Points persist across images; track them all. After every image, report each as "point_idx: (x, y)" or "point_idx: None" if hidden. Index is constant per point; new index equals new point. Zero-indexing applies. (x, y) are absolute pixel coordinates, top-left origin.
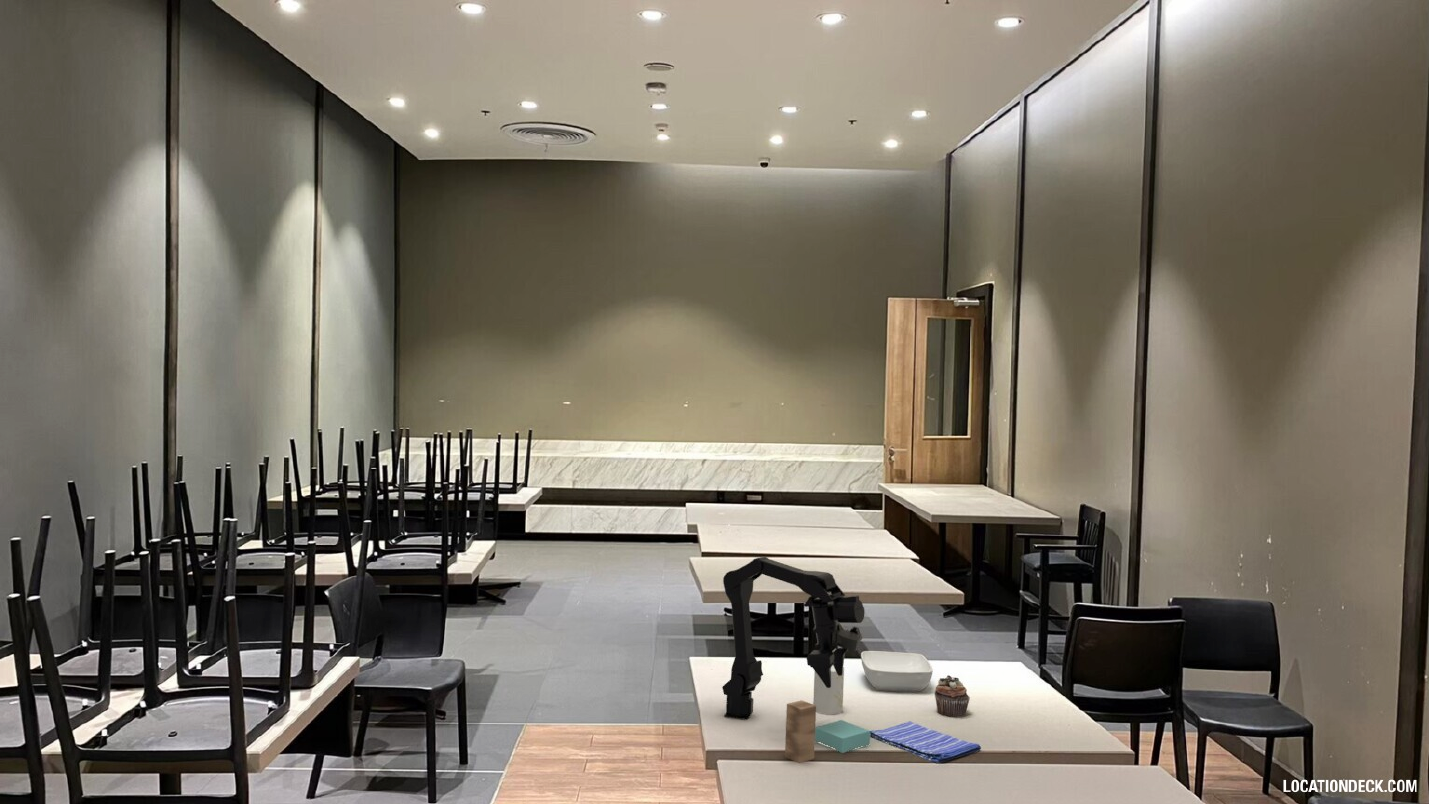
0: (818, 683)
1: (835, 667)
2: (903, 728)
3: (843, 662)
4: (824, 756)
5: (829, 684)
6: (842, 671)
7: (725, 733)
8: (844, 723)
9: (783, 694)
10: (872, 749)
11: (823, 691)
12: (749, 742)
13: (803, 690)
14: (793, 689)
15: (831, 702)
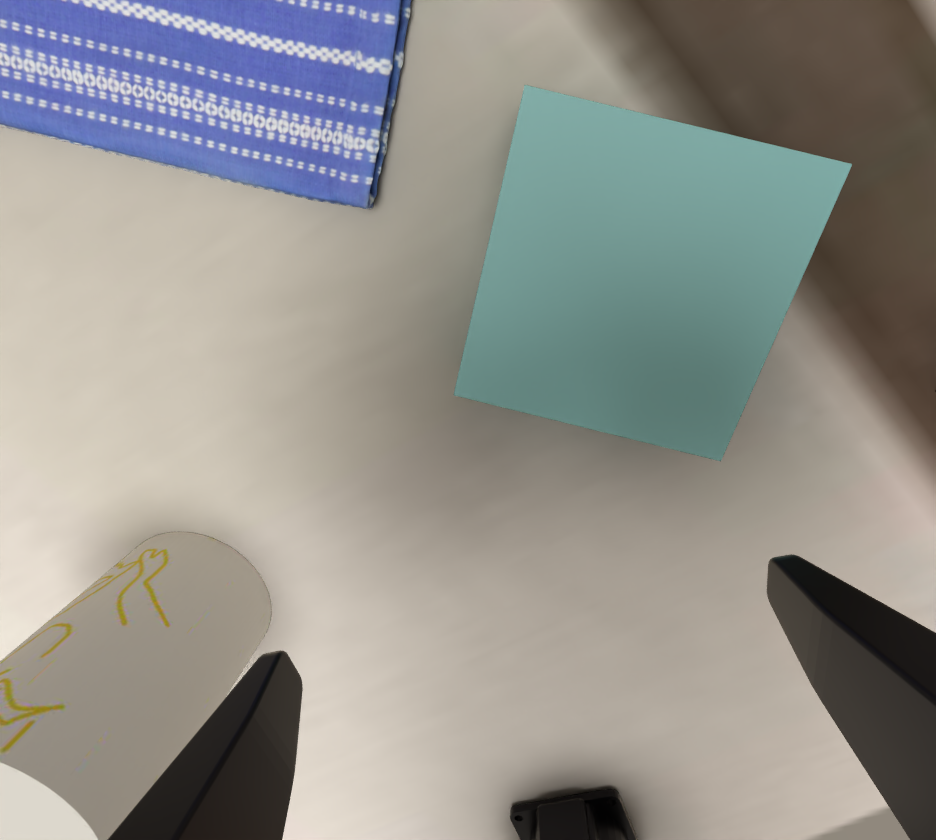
0: None
1: (276, 817)
2: (98, 75)
3: (123, 834)
4: (926, 233)
5: (841, 589)
6: (241, 690)
7: (849, 778)
8: (507, 341)
9: None
10: (592, 40)
11: (200, 685)
12: None
13: None
14: None
15: (205, 598)
